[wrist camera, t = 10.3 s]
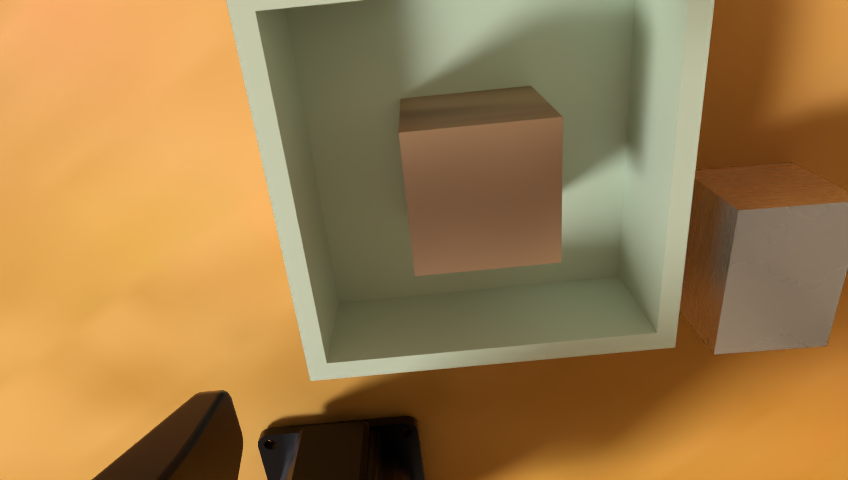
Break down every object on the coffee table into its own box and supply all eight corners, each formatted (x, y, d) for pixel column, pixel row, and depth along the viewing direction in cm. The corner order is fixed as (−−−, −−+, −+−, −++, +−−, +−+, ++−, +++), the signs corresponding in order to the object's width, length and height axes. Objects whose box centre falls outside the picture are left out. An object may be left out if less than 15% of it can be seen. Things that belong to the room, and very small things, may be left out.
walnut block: (532, 207, 19) (561, 262, 16) (413, 218, 19) (414, 276, 16) (531, 85, 18) (563, 116, 14) (400, 98, 18) (398, 133, 14)
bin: (629, 282, 21) (674, 347, 18) (326, 311, 21) (310, 381, 18) (653, -59, 16) (722, -66, 13) (262, -19, 17) (223, -15, 13)
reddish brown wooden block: (764, 289, 22) (826, 346, 19) (667, 296, 22) (713, 354, 19) (790, 161, 20) (866, 200, 16) (683, 169, 20) (738, 210, 16)
